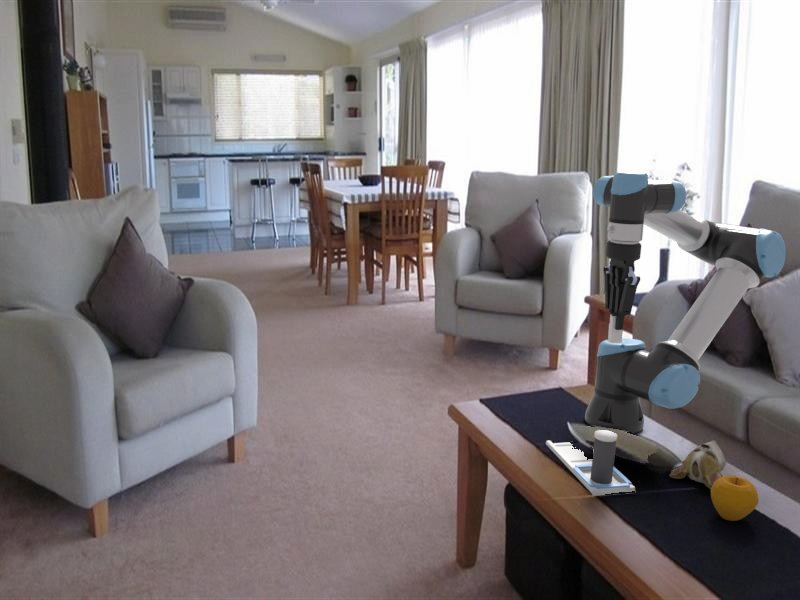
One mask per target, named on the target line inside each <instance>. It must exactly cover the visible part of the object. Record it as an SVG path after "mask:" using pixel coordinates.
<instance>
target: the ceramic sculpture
mask: <svg viewBox="0 0 800 600" xmlns="http://www.w3.org/2000/svg"><path fill="white" fill-rule="evenodd" d="M724 456H725V455H724V453H723V451H722V449H721V448H720V446H719V445H718V444H717V441H716V440H714V439H713V440H711V441H708V442H704V443H702V444H699V445H698V446H697V447H695V449H693V450H691V451H690V452H689V453H688V455H687V456H686V457H685V459H684V460H683V461H681V462H682V465H681V466H679V467H678V468H676V469H674V470H672V469H671V470H670V474H669V475H668V476H669V478H672V479H677V480H682V479H685V478H686V476H687V477H688V479H690V480H691V481H693V480H694V482H697V483H699V484H700V483H701V484H704V485H705V487H706V488H708V489H710V490H711V488H712V486H713V483H714V482H715V481H716V480H717V479H718V478H720V477H723V474H722V471H723V470H724V469H725V467H726V464H727V461H726V459H725V457H724Z"/></svg>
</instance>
